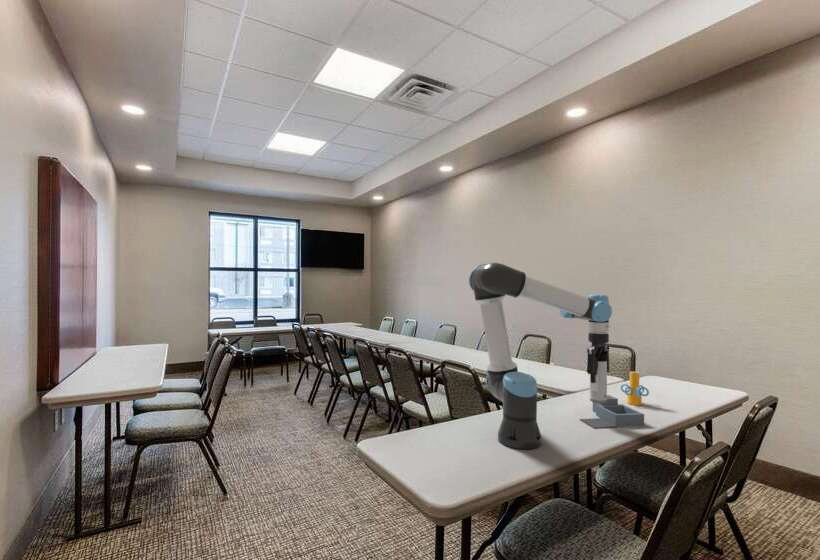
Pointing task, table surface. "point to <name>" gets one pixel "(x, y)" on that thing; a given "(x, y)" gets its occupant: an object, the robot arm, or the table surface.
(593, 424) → the rubber mat
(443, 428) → the table surface
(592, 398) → the travel mug
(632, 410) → the grey compartment tray
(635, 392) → the cylinder
